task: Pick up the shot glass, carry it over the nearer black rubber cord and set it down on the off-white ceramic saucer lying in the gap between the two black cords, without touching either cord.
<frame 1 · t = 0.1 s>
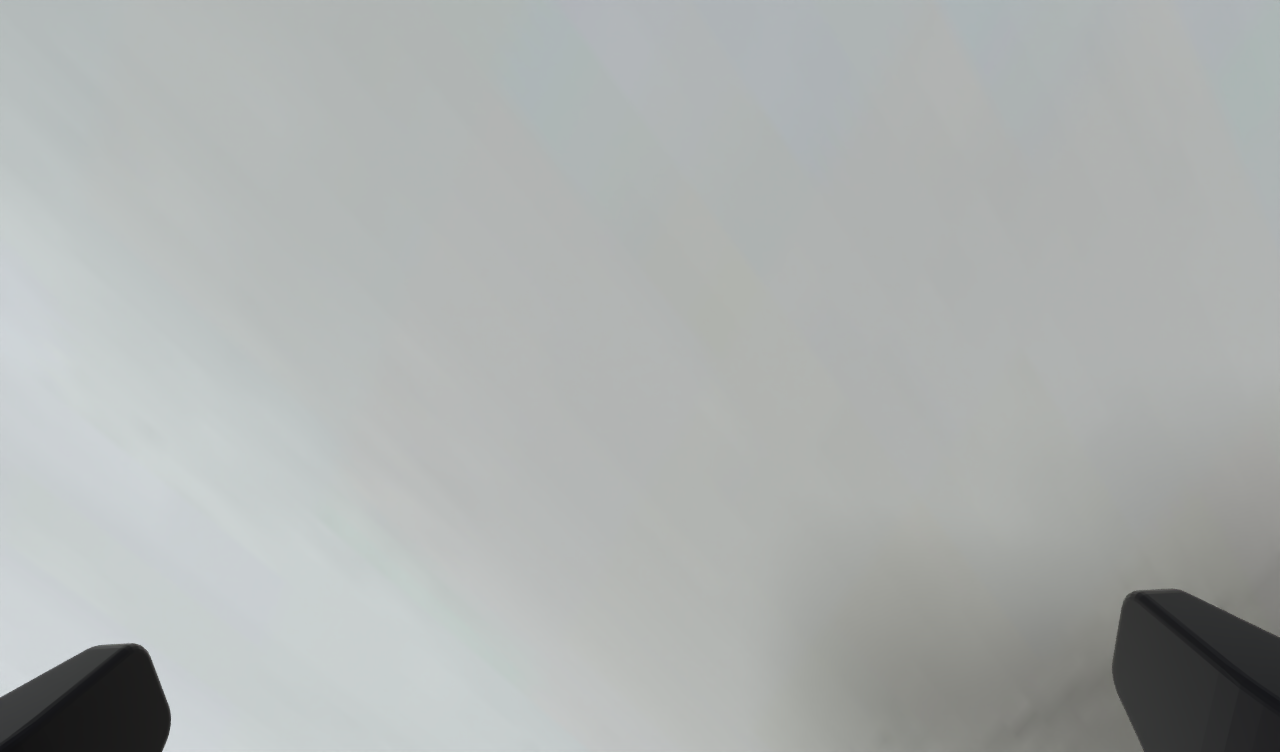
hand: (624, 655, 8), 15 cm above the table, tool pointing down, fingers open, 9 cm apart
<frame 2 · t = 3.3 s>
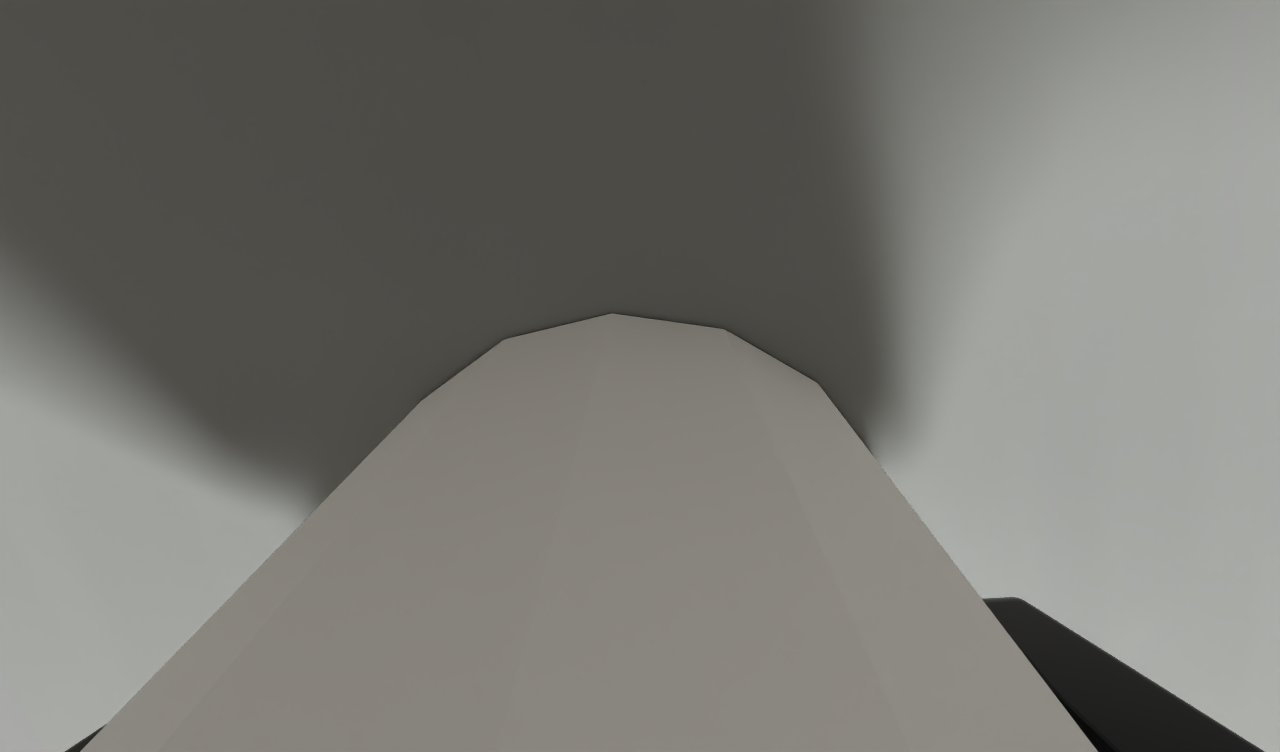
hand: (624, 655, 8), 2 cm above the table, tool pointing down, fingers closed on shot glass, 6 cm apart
shot glass: (630, 548, 9), on the table, touching gripper
when the fingers open (4 cm above the table, at t = 7.6 s): shot glass drops 1 cm, resting on saucer.
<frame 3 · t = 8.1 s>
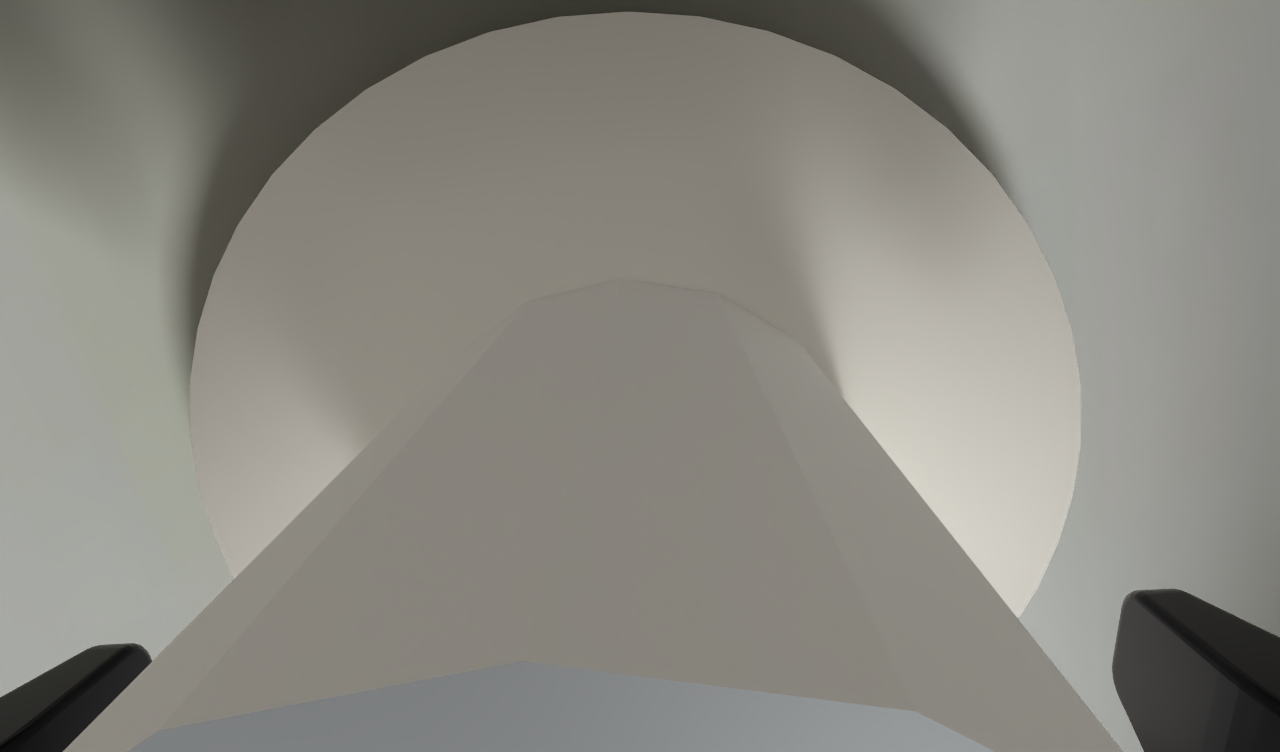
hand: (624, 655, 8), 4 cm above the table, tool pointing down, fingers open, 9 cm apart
saucer: (633, 452, 11), on the table
shot glass: (635, 487, 11), point 1 cm above the table, touching saucer
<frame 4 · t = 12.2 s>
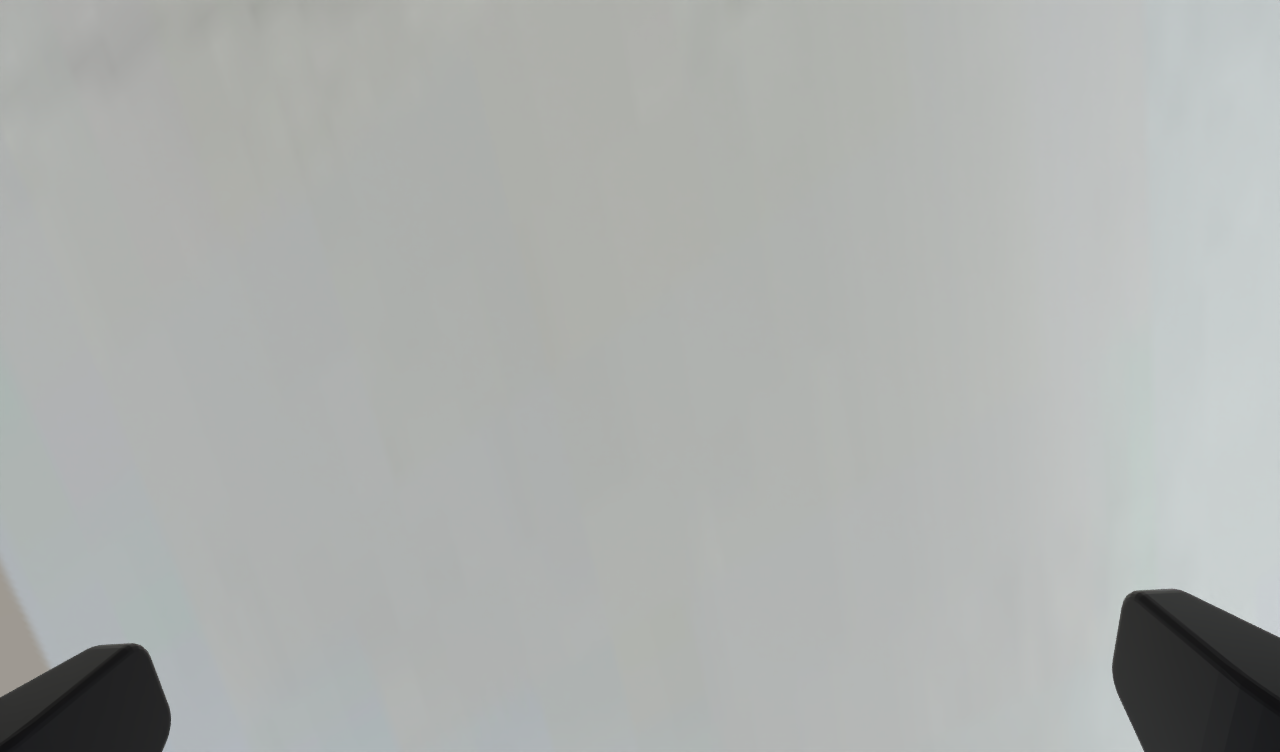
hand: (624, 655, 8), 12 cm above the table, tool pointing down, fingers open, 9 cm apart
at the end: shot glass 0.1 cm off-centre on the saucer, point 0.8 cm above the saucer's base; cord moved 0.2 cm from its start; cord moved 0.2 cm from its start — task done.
